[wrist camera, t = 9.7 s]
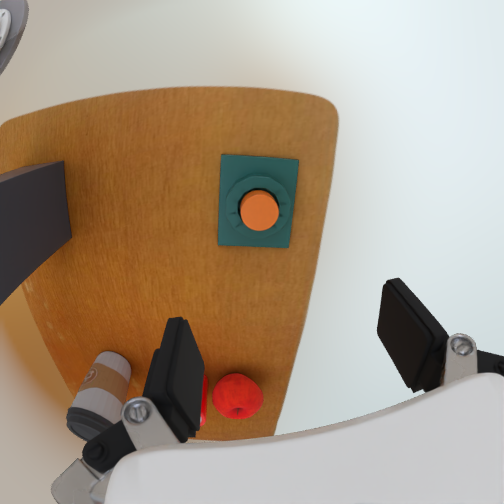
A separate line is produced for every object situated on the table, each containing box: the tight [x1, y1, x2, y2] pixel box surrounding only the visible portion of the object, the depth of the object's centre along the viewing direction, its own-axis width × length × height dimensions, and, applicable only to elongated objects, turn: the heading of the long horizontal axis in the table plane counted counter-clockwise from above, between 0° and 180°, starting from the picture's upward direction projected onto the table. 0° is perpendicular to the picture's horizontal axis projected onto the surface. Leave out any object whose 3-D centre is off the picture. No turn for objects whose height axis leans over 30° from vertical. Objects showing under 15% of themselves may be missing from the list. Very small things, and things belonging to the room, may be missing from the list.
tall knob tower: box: [0, 161, 72, 305], centre depth 19 cm, size 10×9×18 cm
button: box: [240, 190, 279, 231], centre depth 27 cm, size 4×4×2 cm
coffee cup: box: [66, 351, 131, 442], centre depth 33 cm, size 8×8×15 cm
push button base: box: [218, 154, 299, 248], centre depth 28 cm, size 10×8×2 cm
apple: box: [212, 373, 263, 419], centre depth 38 cm, size 8×8×7 cm
